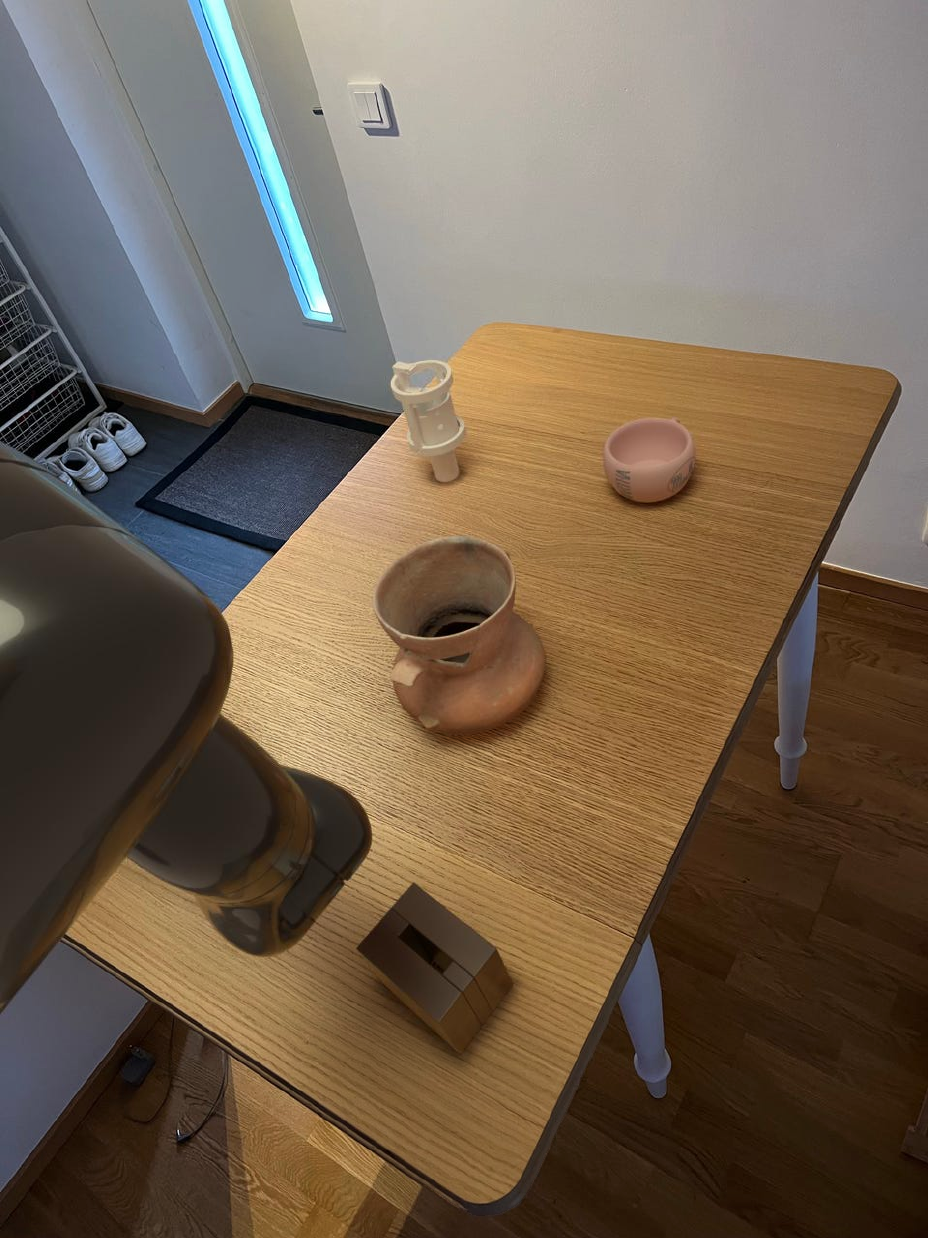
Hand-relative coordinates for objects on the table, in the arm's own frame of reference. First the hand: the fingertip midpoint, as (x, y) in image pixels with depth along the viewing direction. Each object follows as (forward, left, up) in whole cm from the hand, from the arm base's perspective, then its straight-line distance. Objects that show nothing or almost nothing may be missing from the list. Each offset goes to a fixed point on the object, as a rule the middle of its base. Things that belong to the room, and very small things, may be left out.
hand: (31, 636), depth 68 cm
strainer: (+48, -8, -20) cm, 53 cm away
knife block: (-6, -38, -20) cm, 43 cm away
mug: (+53, -33, -20) cm, 66 cm away
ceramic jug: (+20, -27, -20) cm, 39 cm away
